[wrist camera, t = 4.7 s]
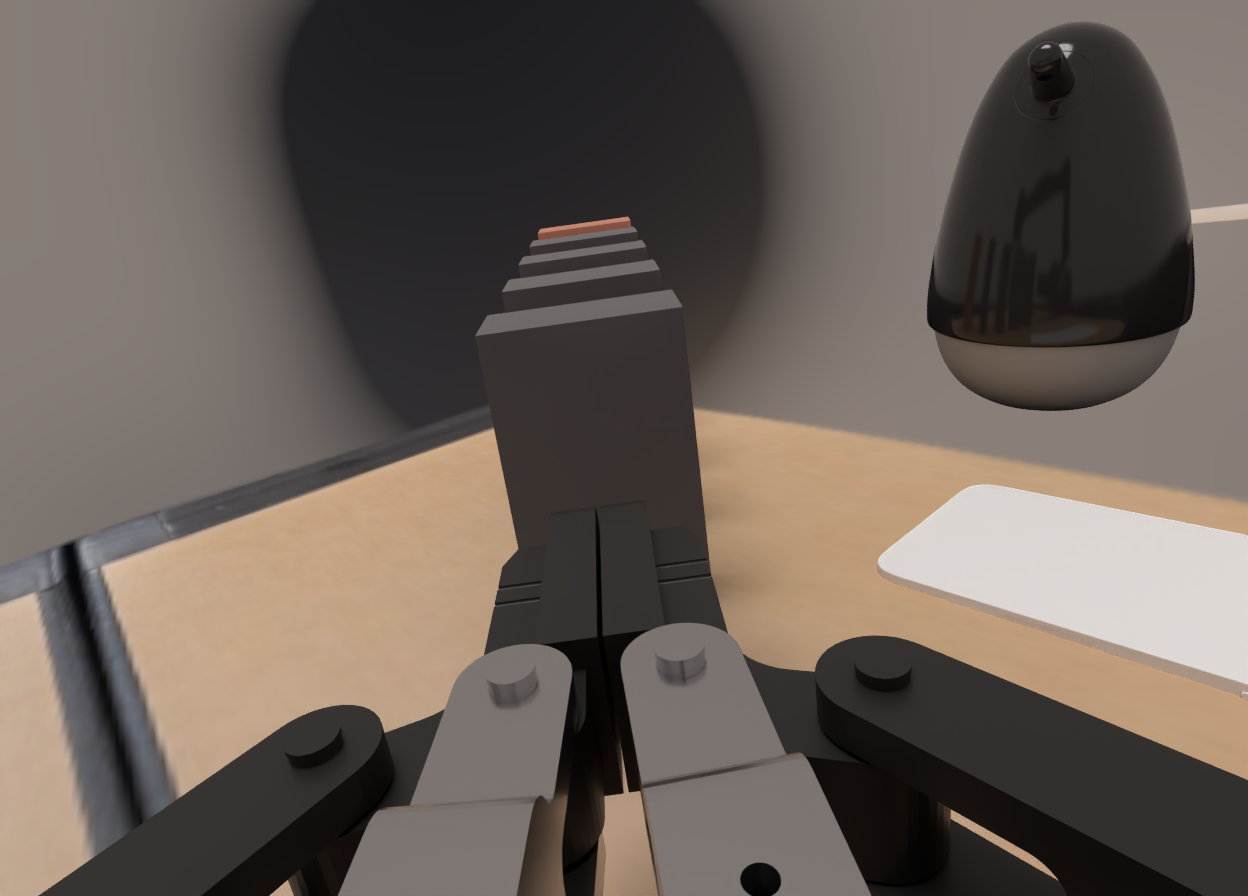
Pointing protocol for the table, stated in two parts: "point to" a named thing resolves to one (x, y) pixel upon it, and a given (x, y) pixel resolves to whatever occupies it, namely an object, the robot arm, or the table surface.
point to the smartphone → (1089, 578)
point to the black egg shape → (1064, 228)
